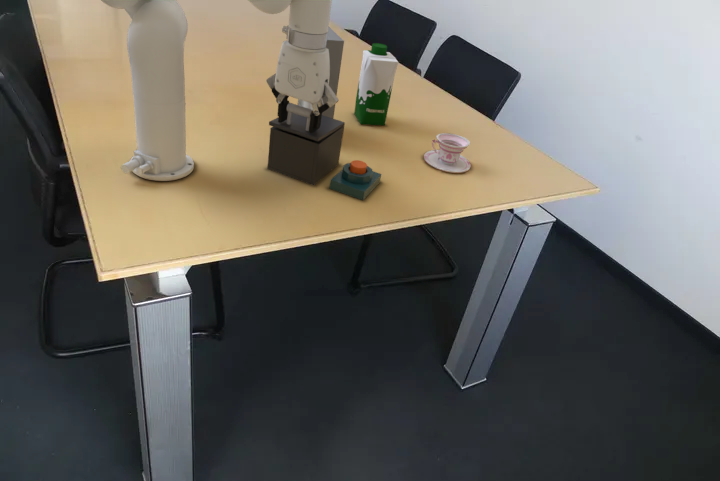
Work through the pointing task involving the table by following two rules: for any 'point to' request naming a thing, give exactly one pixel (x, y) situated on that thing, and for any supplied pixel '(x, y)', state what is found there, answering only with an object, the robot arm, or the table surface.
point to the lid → (306, 123)
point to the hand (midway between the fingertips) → (298, 125)
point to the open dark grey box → (303, 155)
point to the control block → (355, 182)
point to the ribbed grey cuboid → (331, 69)
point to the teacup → (449, 153)
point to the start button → (358, 167)
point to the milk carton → (375, 85)
